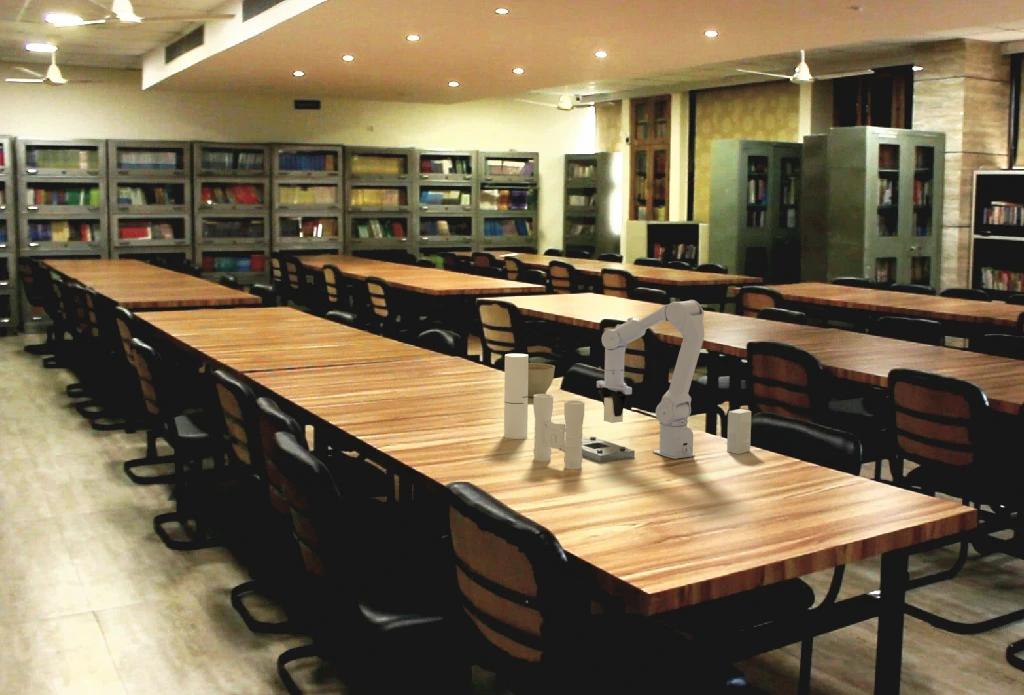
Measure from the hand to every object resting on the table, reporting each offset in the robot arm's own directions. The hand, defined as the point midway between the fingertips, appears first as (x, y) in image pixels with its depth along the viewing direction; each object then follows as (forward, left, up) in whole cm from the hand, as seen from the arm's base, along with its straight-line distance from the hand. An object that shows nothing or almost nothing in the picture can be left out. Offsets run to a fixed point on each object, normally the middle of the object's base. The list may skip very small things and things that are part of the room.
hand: (613, 414), depth 317 cm
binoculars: (-13, +29, -9) cm, 32 cm away
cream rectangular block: (0, 0, -2) cm, 2 cm away
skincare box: (-27, -25, -9) cm, 38 cm away
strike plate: (-8, +12, -8) cm, 17 cm away
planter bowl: (+76, -21, -9) cm, 79 cm away
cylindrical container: (+21, +21, -9) cm, 31 cm away
